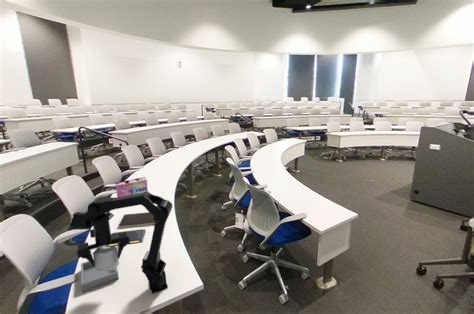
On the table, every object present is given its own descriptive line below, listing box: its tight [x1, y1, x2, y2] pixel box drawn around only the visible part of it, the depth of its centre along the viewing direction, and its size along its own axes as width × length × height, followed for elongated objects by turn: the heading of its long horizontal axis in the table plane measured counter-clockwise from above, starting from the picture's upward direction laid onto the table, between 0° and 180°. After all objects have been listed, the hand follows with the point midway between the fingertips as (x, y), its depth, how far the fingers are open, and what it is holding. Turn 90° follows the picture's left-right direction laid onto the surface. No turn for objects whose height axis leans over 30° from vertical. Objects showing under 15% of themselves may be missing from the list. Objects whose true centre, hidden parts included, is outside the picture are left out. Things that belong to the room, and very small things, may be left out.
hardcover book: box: [118, 211, 155, 229], centre depth 163 cm, size 16×23×2 cm
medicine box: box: [92, 246, 120, 271], centre depth 102 cm, size 8×4×9 cm, turn 89°
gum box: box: [115, 177, 149, 197], centre depth 201 cm, size 24×8×14 cm, turn 126°
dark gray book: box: [104, 228, 146, 247], centre depth 143 cm, size 20×2×15 cm
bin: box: [80, 260, 119, 292], centre depth 113 cm, size 14×16×4 cm
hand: (106, 262), depth 103 cm, fingers closed on medicine box, 9 cm apart
